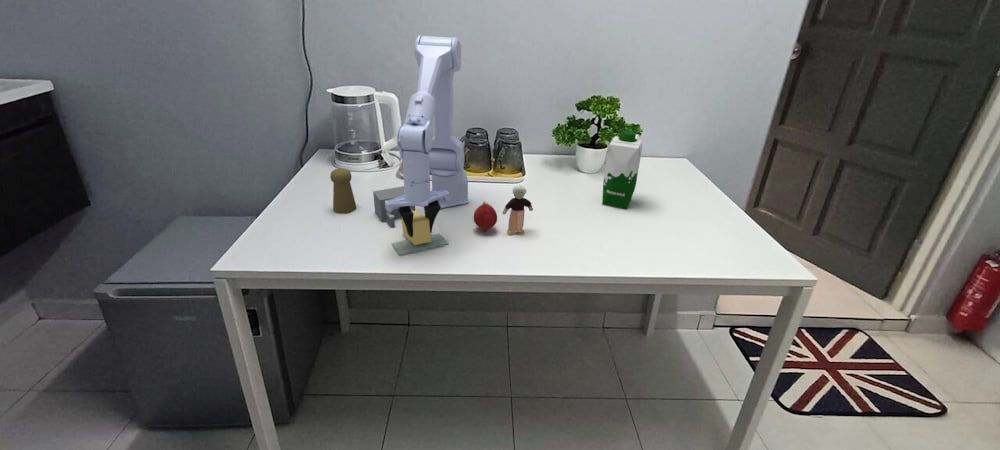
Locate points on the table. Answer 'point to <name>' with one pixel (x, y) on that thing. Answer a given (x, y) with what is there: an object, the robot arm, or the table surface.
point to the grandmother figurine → (517, 210)
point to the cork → (342, 191)
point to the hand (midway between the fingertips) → (419, 233)
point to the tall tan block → (418, 229)
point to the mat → (419, 245)
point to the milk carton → (621, 170)
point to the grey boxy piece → (379, 204)
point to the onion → (485, 216)
